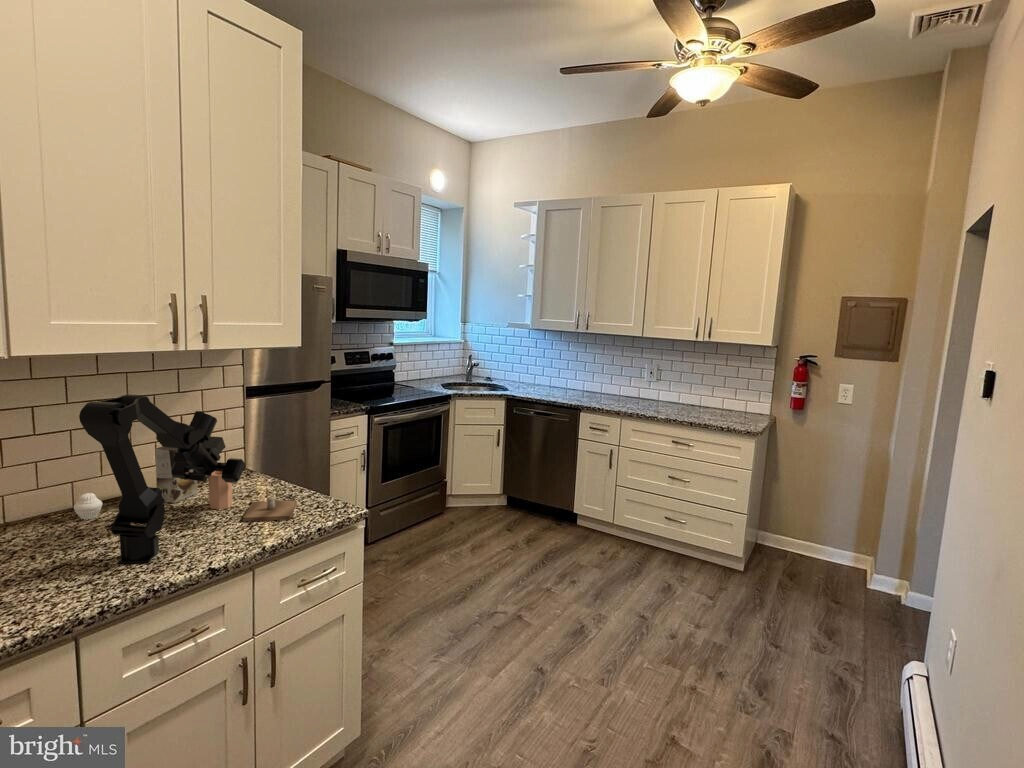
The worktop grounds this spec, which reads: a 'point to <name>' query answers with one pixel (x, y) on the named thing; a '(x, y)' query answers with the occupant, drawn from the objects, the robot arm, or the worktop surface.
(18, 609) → the worktop surface
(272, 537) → the worktop surface
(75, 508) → the muffin
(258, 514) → the post stand
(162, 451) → the coffee box
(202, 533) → the worktop surface
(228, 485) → the terracotta collar
